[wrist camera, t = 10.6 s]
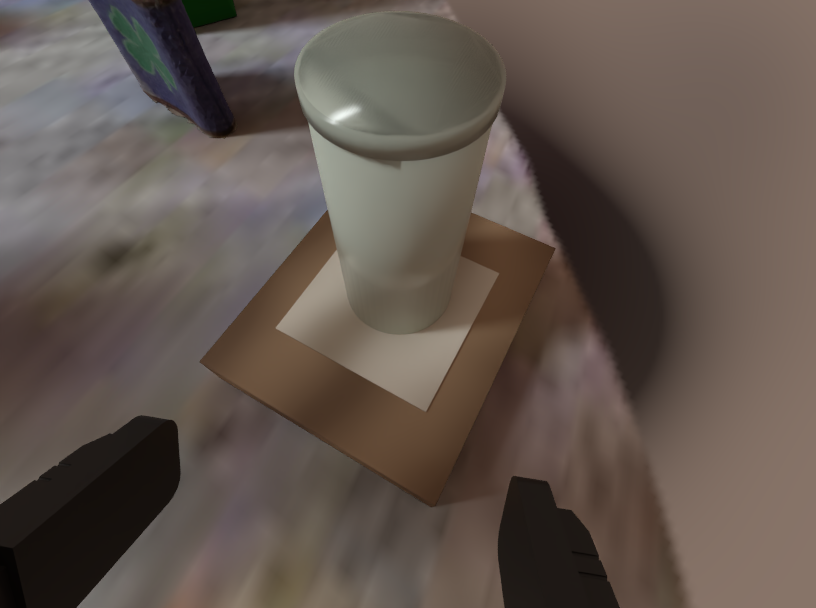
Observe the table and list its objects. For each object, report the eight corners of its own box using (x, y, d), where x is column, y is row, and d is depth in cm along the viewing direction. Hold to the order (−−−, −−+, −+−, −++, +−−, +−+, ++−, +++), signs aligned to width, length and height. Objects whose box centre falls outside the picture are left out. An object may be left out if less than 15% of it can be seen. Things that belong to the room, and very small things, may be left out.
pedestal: (221, 378, 20) (198, 361, 18) (366, 196, 26) (363, 165, 24) (431, 507, 18) (435, 505, 15) (541, 273, 24) (556, 247, 21)
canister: (322, 304, 19) (249, 90, 10) (380, 227, 22) (366, -8, 12) (421, 356, 18) (448, 172, 9) (471, 269, 21) (536, 47, 11)
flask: (138, 92, 31) (22, -96, 21) (170, 74, 32) (73, -113, 22) (217, 145, 28) (125, -42, 19) (249, 123, 29) (177, -64, 20)
